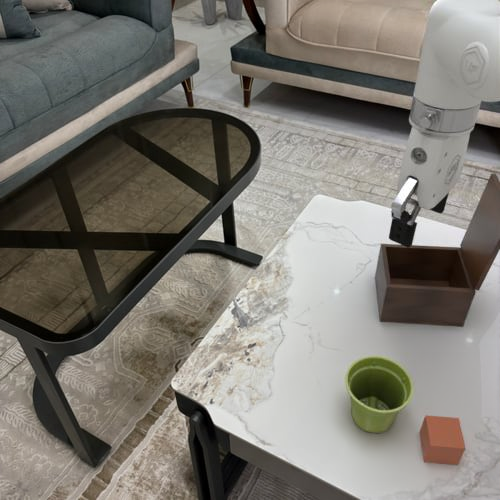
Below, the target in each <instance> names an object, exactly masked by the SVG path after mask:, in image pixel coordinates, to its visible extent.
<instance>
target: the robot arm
mask: <svg viewBox="0 0 500 500" xmlns="http://www.w3.org/2000/svg"><path fill="white" fill-rule="evenodd" d="M482 102H485V103H496V102H500V0H436V1H435V2H433V4H432V6H431V8H430V10H429V13H428V16H427V22H426V27H425V33H424V38H423V43H422V48H421V52H420V59H419V64H418V69H417V75H416V80H415V83H414V90H413V96H412V100H411V106H410V112H409V117H408V122H409V124H410V125H411V130H410V133H409V136H408V140H407V143H406V146H405V150H404V153H403V157H402V161H401V165H400V170H399V174H398V178H397V183H396V196H395V197H394V199H393V201H392V202H391V206H390V209H391V211H390V213H391V222H390V228H389V233H388V239H389V240H390V241H391V242H394V243H396V244H398V245H403V246H406V247H410V246H411V245H413V244H414V243H413V242H414V238H415V234H416V230H417V226H418V222H416V220H417V217H418V215H419V213H420V211H421V209H423V210H426V211H429V210H430V211H432V212H435V213H437V214H442V213H444V211H445V209H446V205H447V201H448V198H449V193H450V192H451V191H452V190H453V189H454V188H455V186H456V185H457V184H458V183H459V181H460V179H461V176H462V172H463V167H464V163H465V158H466V154H467V150H468V146H469V141H470V136H471V132H472V131H474V128H475V125H476V122H477V118H478V114H479V111H480V107H481V104H482ZM413 195H414V196H416V198H417V199H415V198H412V196H413ZM407 204H410V205H413V206H414V207H413V209H412V211H411V213H409V211H407V210H406V209H407Z"/></svg>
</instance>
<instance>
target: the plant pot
mask: <svg viewBox="0 0 500 500" xmlns="http://www.w3.org/2000/svg"><path fill="white" fill-rule="evenodd" d="M344 381H345V388H346V390H347V393H348V394H349V396H350V409H351V417H352V420H353V422H354V424H356V426H357V427H358V428H360V429H361V430H363V431H364V432H368V433H369V432H370V433H373V434H381V433H384V432H386V431H387V430H388V429H389V428H390V427H391V426H392V424H393V422H394V421H395V419H396V417H397V415H398V413H400V411H401V410H403V409H405V408H406V407H407V406H408V405H409V404H410V402H411V400H412V398H413V395H414V383H413V380H412V377H411V375H410V374H409V372H408V371H407V370H406V368H404V367H403V366H402V365H400V364H399V363H398V362H396V361H395V360H393V359H391V358H389V357H385V356H380V355H369V356H368V355H367V356H364V357H361V358H358V359H357V360H355V361H354V362H353V363H351V364H350V365H349V367H348V369H347V370H346V373H345V377H344ZM363 402H364V403H363Z"/></svg>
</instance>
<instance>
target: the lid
mask: <svg viewBox="0 0 500 500" xmlns="http://www.w3.org/2000/svg"><path fill="white" fill-rule="evenodd" d="M459 246H460V247H461V250H462V253H463V256H464V259H465V262H466V265H467V268H468V271H469V274H470V277H471V281H472V284H473V287H474V290H475V291H480V290H481V287H482V285H483V284H484V281H485V279H486V278H487V275H488V274H489V272H490V270H491V268H492V266H493V264H494V262H495V260H496V258H497V256H498V254H499V253H500V178H499V177H498V175H497V173H491V174H490V176H489V178H488V179H487V183H486V185H485V188H484V190H483V192H482V194H481V196H480V199H479V201H478V203H477V205H476V207H475V210H474V213H473V215H472V217H471V219H470V221H469V224H468V226H467V228H466V231H465V232H464V235H463V237H462V240H461V242H460V244H459Z"/></svg>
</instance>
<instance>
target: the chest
mask: <svg viewBox="0 0 500 500" xmlns="http://www.w3.org/2000/svg"><path fill="white" fill-rule="evenodd" d="M374 283H375V284H374V285H375V293H376V300H377V301H376V302H377V310H378V318H379V322H380V323H381V322H383V323H397V324H398V323H399V324H413V325H430V326H431V325H432V326H444V327H460V328H461V327H462V328H463V327H464V325H465V322H466V320H467V317H468V314H469V312H470V309H471V306H472V303H473V300H474V298H475V295H476V292H477V290H474V287H473V284H472V281H471V277H470V274H469V271H468V268H467V265H466V262H465V259H464V256H463V253H462V250H461V246H460V247H458V246H440V245H436V246H435V245H418V244H417V245H416V244H415V245H414V244H412V245H411V246H410V247H406V246H403V245H401V244H398V243H396V244H395V243H394V244H393V243H380V246H379V252H378V258H377V263H376V268H375V274H374Z"/></svg>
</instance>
